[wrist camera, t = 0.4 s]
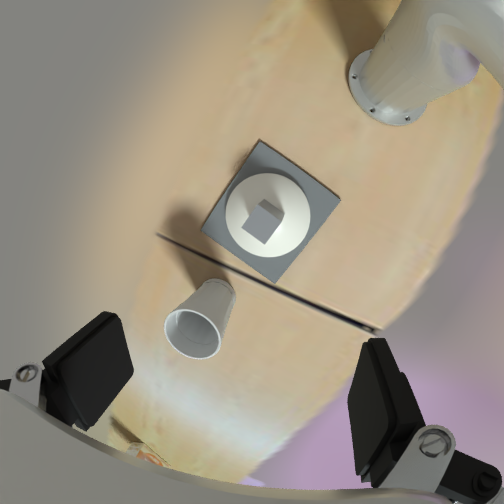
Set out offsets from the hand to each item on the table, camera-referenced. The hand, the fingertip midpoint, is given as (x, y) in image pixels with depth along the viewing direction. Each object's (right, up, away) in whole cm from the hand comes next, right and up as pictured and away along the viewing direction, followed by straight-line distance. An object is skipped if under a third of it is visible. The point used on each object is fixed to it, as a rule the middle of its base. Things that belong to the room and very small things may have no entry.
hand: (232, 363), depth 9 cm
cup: (-5, -3, +36) cm, 36 cm away
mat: (+3, +9, +30) cm, 32 cm away
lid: (+3, +9, +30) cm, 31 cm away
